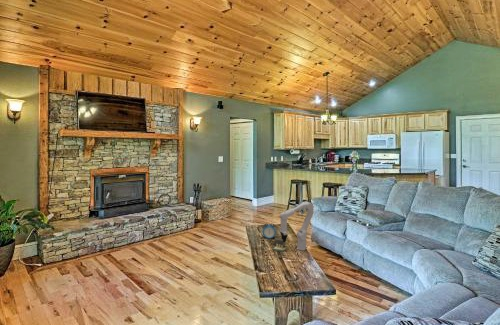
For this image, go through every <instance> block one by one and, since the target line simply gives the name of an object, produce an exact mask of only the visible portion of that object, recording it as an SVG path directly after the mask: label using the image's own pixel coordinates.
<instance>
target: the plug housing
mask: <svg viewBox="0 0 500 325" xmlns="http://www.w3.org/2000/svg"><path fill="white" fill-rule="evenodd" d="M271 241H272V242H274V246H275V247H276V246H277V244H278V247H279V244H280V247H281V245H283V247H284V248H285V246H286V244H285V243H286V242H283V239H282V238H274V239H271Z"/></svg>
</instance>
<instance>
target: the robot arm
mask: <svg viewBox="0 0 500 325" xmlns="http://www.w3.org/2000/svg"><path fill="white" fill-rule="evenodd" d="M314 207H315V205H314V204H313V203H312V202H310V201H307V200H305V201H303V202H301V203H300V204H299V205H297V206H295V207H294V208H288V209H287V210H286V211H284V212H281V213H280V214H279V218H280V230H279V232H280V236H281V238H280V239H283V242H285V243H286V241H287V239H288V238H287V237H288V236H289V234H287V233H288V218H289V217H291V216H294V215H295V213H296V212H298V211H300V210H302V209H303V210H306V212H307V213H306V215H305V217H304V220H303V222H302V225H301V227H300V228H299V230H298V231H297V232H296V237H297V247H296V249H295V250H300V251H306V250H307V248H308V246H307V237H308V236H307V235H308V228H309V226H310V223H311V220H312V218H313V216H314V211H315V210H314Z"/></svg>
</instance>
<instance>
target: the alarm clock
mask: <svg viewBox="0 0 500 325" xmlns="http://www.w3.org/2000/svg"><path fill="white" fill-rule="evenodd" d="M276 231H277V230H276V227H275V224H274V223H264V224H263V228H262V235H263V236H264V237H265V239H273V238H274V237H275V235H276V234H277V233H276Z"/></svg>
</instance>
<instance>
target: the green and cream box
mask: <svg viewBox="0 0 500 325" xmlns="http://www.w3.org/2000/svg"><path fill="white" fill-rule="evenodd" d="M286 250H287V247H285V246H284V247H283V245H281V247H280V244H279V246H278V244H277V246H275V247H273V248H272V251H276V252H281V253H283V252H285V251H286Z"/></svg>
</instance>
